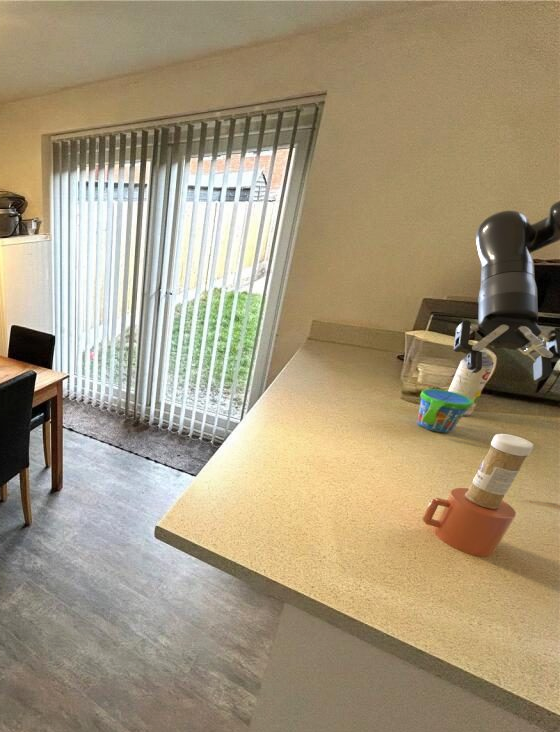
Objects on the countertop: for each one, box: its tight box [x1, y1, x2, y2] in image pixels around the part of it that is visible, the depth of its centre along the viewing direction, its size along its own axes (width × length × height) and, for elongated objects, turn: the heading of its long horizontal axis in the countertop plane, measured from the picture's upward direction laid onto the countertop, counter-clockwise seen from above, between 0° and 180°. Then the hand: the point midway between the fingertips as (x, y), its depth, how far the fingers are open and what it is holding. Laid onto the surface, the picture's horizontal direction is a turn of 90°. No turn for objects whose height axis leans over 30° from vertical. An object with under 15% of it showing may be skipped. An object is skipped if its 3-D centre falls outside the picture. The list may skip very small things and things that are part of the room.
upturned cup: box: [422, 487, 517, 557], centre depth 75 cm, size 11×8×9 cm
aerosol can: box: [447, 349, 495, 417], centre depth 119 cm, size 7×7×20 cm
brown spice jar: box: [465, 433, 534, 509], centre depth 70 cm, size 5×5×14 cm
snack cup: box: [417, 388, 473, 434], centre depth 113 cm, size 16×10×10 cm
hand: (507, 375), depth 72 cm, fingers open, 8 cm apart
